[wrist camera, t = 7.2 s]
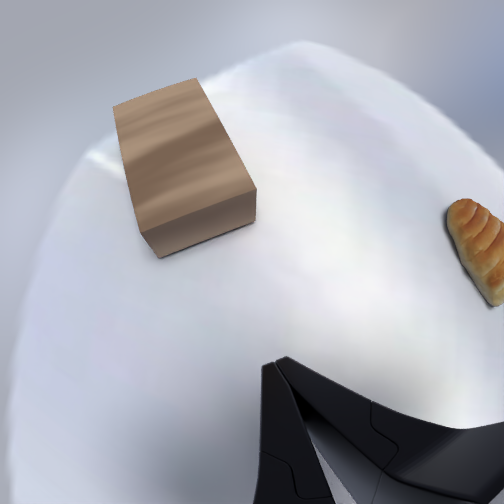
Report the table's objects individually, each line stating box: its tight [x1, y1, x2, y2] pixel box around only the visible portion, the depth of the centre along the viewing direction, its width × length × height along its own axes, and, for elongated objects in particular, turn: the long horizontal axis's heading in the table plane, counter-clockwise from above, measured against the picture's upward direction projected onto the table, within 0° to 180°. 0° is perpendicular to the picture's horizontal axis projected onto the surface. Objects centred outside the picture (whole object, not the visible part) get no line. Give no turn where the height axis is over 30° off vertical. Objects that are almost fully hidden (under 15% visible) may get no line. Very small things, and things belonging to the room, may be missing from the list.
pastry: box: [447, 199, 504, 306], centre depth 19 cm, size 9×7×4 cm
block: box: [113, 78, 257, 258], centre depth 21 cm, size 4×7×12 cm
